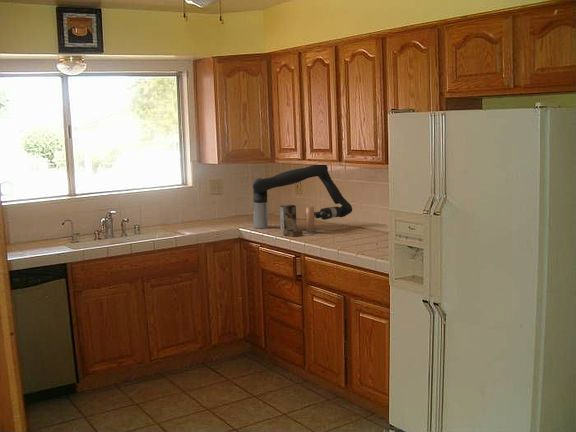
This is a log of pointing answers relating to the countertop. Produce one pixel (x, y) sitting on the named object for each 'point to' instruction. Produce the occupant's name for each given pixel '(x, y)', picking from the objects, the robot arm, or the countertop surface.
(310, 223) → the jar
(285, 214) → the coffee box
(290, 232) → the collar
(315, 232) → the mat
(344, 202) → the robot arm
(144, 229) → the countertop surface
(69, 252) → the countertop surface
